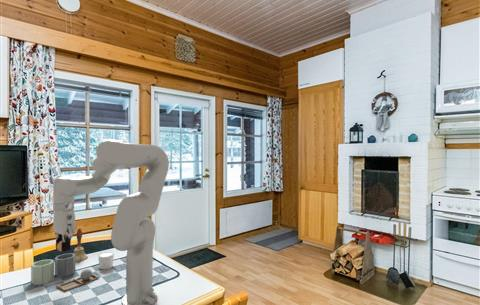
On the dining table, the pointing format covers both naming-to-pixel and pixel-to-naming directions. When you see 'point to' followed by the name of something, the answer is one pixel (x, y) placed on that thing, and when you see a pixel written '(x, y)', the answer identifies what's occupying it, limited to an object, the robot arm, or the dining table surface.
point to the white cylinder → (106, 260)
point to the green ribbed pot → (42, 272)
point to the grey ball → (86, 274)
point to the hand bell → (79, 248)
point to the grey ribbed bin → (64, 265)
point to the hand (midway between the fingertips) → (63, 249)
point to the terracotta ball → (59, 246)
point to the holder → (76, 283)
